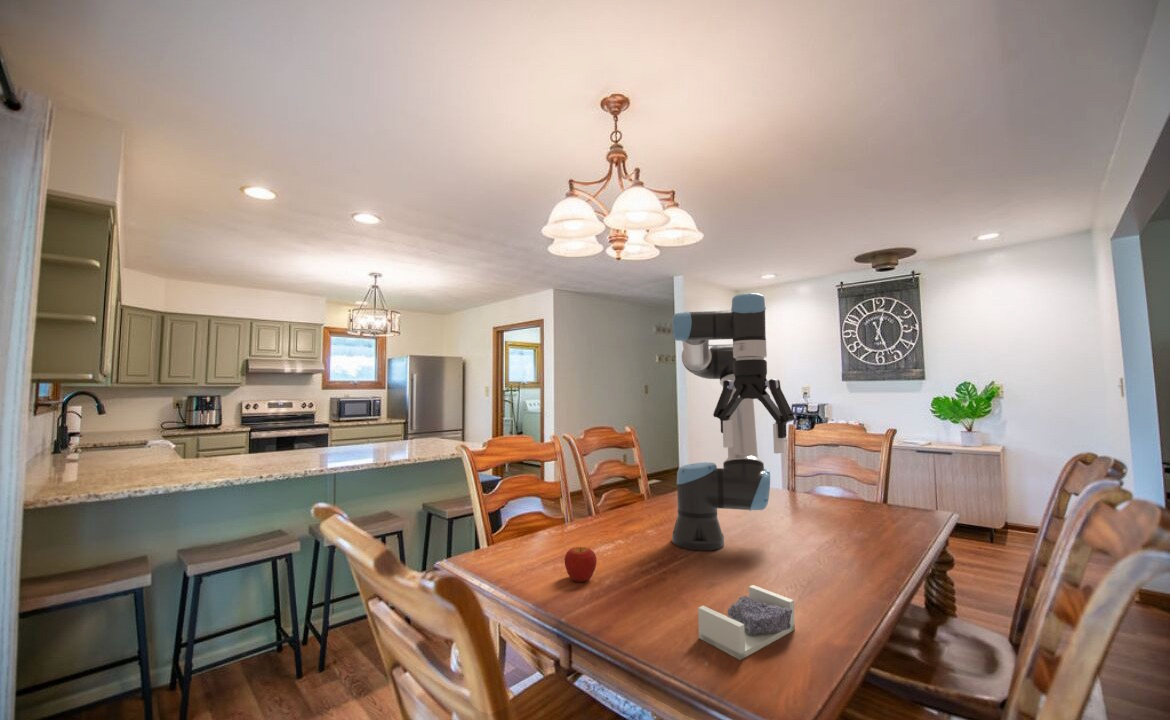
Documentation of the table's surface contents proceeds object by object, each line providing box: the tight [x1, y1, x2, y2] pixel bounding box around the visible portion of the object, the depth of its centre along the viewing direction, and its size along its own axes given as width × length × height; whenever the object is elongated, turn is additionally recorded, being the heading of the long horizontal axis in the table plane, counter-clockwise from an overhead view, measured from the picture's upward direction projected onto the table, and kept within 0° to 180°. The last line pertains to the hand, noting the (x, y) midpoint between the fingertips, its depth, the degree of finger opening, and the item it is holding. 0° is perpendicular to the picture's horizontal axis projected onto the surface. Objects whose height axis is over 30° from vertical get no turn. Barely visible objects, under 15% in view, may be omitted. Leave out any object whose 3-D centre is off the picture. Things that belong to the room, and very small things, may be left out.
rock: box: [727, 595, 792, 636], centre depth 91 cm, size 12×5×10 cm
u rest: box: [697, 584, 796, 661], centre depth 90 cm, size 9×17×6 cm, turn 126°
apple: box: [564, 546, 598, 583], centre depth 116 cm, size 8×8×8 cm
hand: (752, 450), depth 112 cm, fingers open, 13 cm apart
